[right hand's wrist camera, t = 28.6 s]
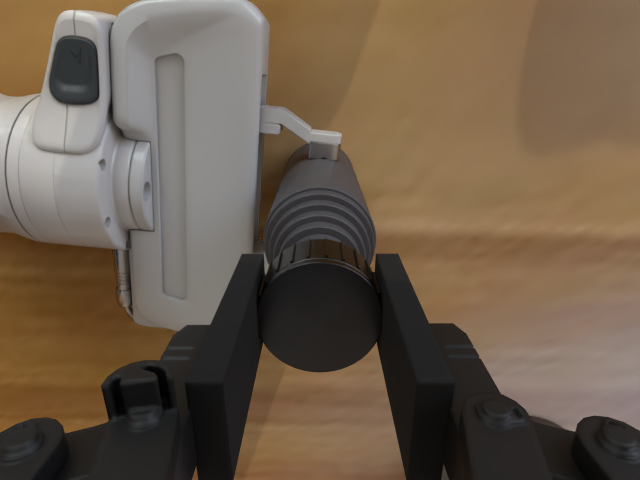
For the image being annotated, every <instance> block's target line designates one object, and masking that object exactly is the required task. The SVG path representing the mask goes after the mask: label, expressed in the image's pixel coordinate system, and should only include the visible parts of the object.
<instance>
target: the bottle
mask: <svg viewBox="0 0 640 480" xmlns="http://www.w3.org/2000/svg"><path fill="white" fill-rule="evenodd" d="M309 149H310V143H309V144H306V145H304V146H302V147H301V148H299V149H298V150H297V151H296V152H295V153H294V154H293V155H292V157H291V158H290V160H289V162H288V164H287V167H286V170H285V172H284V175H283V178H282V180H281V183H280V186H279V189H278V191H277V194H276V197H275V199H274V202H273V205H272V207H271V210H270V213H269V215H268V218H267V221H266V224H265V227H264V233H263V245H264V250H265V255H266V259H267V262H268V264H270V262H271V263H272V262H273V261H274V259H275V258H276V257H277V256H278V255H279V252H283V251H284V250H285V249H287V248H289V247H290V246H292V245H293V244H294V243H295V244H297V243H299V242H302V241H306V240H308V239H311V240H312V239H325V238H327V239H328V240H333V241H337V242H343V244H345V245H347V246H349V247H351V248H353V249H356V250H357V252H358V253H359V254H360V255H361V256H362V257H363V258H364V259H365V260H366V259H367V260H368V263H369V266H370V264H371V262H372V259H373V255H374V250H375V244H376V233H375V227H374V224H373V221H372V218H371V216H370V213H369V210H368V207H367V205H366V202H365V199H364V197H363V194H362V191H361V189H360V186H359V183H358V180H357V178H356V175H355V172H354V170H353V167H352V164H351V162H350V160H349V158H348V157H347V155H346V154H345V153H344V152H343V151H342V150H341V149H340V153H339V160H337V161H331V160H327V159H326V158H325V157H323V158H322V159H312V158H309Z"/></svg>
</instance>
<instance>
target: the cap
mask: <svg viewBox="0 0 640 480" xmlns="http://www.w3.org/2000/svg"><path fill="white" fill-rule="evenodd" d="M379 294H380V290H379V286H378V283H377V279H376V275H375V272H372V270H371V268H370V266H369V263H368V260H367V259H366V260H365V259H364V258H363V257H362V256H361V255H360V254H359V253H358V252H357V250H356V249H353V248H351V247H349V246H347V245H345V244H343V242H337V241H333V240H328V239H327V238H325V239H312V240H311V239H308V240H306V241H302V242H299V243H297V244H295V243H294V244H293V245H292V246H290V247H289V248H287V249H285V250H284V251H283V252H279V255H278V256H277V257H276V258H275V259H274V261H273V262H272V263H271V262H270V264H269V267H268V271H267V274H266V276H264V277H263V281H262V284H261V288H260V291H259V295H258V298H259V302H258V306H257V320H258V331H259V334H260V337H261V339H262V341H263V342H264V344H265V346H266V347H267V348H268V349H269V351H270V352H271V353H272V354H273V355H274V356H275V357H277V358H278V359H279V360H281V361H282V362H284V363H286V364H287V365H289V366H292V367H294V368H297V369H300V370H304V371H310V372H330V371H335V370H339V369H343V368H345V367H348V366H350V365H352V364H354V363H356V362H357V361H359V360H360V359H362V358H363V357H364V356H365V355H366V354H367V353H368V352H369V351H370V350H371V349H372V348H373V346H374V345H375V343H376V342H377V340H378V338H379V336H380V333H381V330H382V315H383V308H382V304H381V300H380V296H379Z"/></svg>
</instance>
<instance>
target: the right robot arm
mask: <svg viewBox="0 0 640 480" xmlns="http://www.w3.org/2000/svg"><path fill="white" fill-rule="evenodd" d="M375 275H376V279H377V283H378V286H379V290H380V294H379V296H380V300H381V304H382V308H383V315H382V330H381V333H380V336H379V338H378V340H377V346H378V350H379V355H380V360H381V364H382V369H383V374H384V378H385V383H386V388H387V392H388V397H389V401H390V406H391V411H392V415H393V420H394V425H395V429H396V434H397V439H398V443H399V448H400V453H401V457H402V462H403V466H404V471H405V476H406V480H640V431H639V430H637V429H635V428H633V427H632V426H630V425H628V424H626V423H624V422H621V421H618V420H615V419H612V418H609V417H602V416H591V417H586V418H583V419H582V420H581V421H580V422H579V423H578V424H577V428H576V431H575V432H573V431H569V430H565V429H563V428H562V427H560V426H559V425H557V424H555V423H553V422H551V421H548V420H545V419H542V418H538V417H533V416H529V415H528V413H527V412H526V410H525V409H524V408H523V407H522V406H520V405H519V404H518V403H517V402H516V401H514V400H512V399H510V398H508V397H506V396H504V395H501V393H500V392H499V390H498V388H497V386H496V385H495V383H494V381H493V379H492V378H491V376H490V374H489V373H488V371H487V369H486V367H485V366H484V364H483V362H482V360H481V359H479V355H478V353H477V352H476V350H475V349H474V348H473V345H472V343H471V341H470V339H469V338H468V336H467V334H466V333H464V332H463V331H462V330H461V329H459V328H458V327H457V326H456V325H454V324H429V323H428V320H427V318H426V316H425V314H424V311H423V309H422V307H421V305H420V302H419V300H418V298H417V296H416V293H415V291H414V289H413V287H412V284H411V282H410V280H409V278H408V275H407V273H406V271H405V269H404V267H403V264H402V262H401V260H400V258H399V255H398V254H376V262H375ZM264 276H265V267H264V254H242V255H241V257H240V259H239V261H238V264H237V266H236V268H235V270H234V273H233V275H232V277H231V279H230V282H229V284H228V286H227V288H226V291H225V293H224V295H223V297H222V300H221V302H220V304H219V306H218V308H217V311H216V313H215V315H214V317H213V320H212V322H211V324H210V325H186V326H185V327H183V328H182V329H181V330H180V331H178V332H177V333H176V334H175V335H173V337H172V339H171V341H170V342H169V344H168V346H167V349H166V350H165V351H164V353H163V355H162V356H161V360H159V361H157V360H144V361H139V362H135V363H131V364H128V365H126V366H124V367H122V368H119V369H117V370H116V371H115V372H113V373H112V374H111V375H109V376H108V377H107V378H106V380H105V381H104V383H103V384H102V385H101V388H102V392H103V396H104V400H105V405H106V409H107V413H108V418H109V421H108V422H107V423H104V424H101V425H98V426H95V427H91V428H86V429H82V430H78V431H74V432H70V433H66V434H65V432H64V429H63V426H62V425H61V424H60V423H59V422H58V421H57V420H55V419H51V418H36V419H30V420H27V421H24V422H21V423H18V424H16V425H14V426H12V427H10V428H8V429H6V430H5V431H3V432H1V433H0V480H192V477H193V474H194V471H195V468H196V466H197V473H198V480H233V479H234V474H235V470H236V465H237V461H238V456H239V451H240V447H241V442H242V437H243V433H244V428H245V423H246V419H247V414H248V409H249V405H250V400H251V396H252V391H253V386H254V382H255V377H256V372H257V368H258V363H259V358H260V354H261V349H262V345H263V341H262V339H261V337H260V334H259V331H258V320H257V306H258V302H259V298H258V295H259V291H260V288H261V284H262V281H263V277H264Z"/></svg>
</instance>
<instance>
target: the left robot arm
mask: <svg viewBox="0 0 640 480" xmlns="http://www.w3.org/2000/svg"><path fill="white" fill-rule="evenodd" d="M269 40H270V25H269V22H268V21H267V19H266V18H265V16H264V15H263V13H262V12H261V11H260V10H259V9H258V8H257V7H256V6H255V5H254V4H253V3H251V2H249V1H247V0H141V1H138V2H135V3H133V4H131V5H129V6H127V7H126V8H125V9H123V10H122V11H121V12H120V13H119V15H118V16H115V15H111V14H107V13H103V12H97V11H88V10H68V11H64V12H62V13H61V14H60V15H59V17H58V19H57V21H56V24H55V28H54V32H53V38H52V43H51V49H50V54H49V59H48V64H47V69H46V74H45V78H44V83H43V87H42V91H41V93H39V94H32V95H28V96H21V97H12V96H6V95H4V94H1V93H0V233H2V232H9V233H15V234H18V235H20V236H23V237H25V238H28V239H31V240H34V241H38V242H45V243H54V244H65V245H75V246H86V247H97V248H108V249H112V254H113V264H114V271H115V274H116V281H117V287H116V298H117V302H118V304H119V306H121V307H124V309H125V311H126V313H127V314H128V315H129V316H130V317H131V318H132V319H133V320H134V322H135V323H137V324H139V325H142V326H148V327H159V328H166V329H170V330H174V331H180V330H181V329H182V328H183V327H185V326H186V325H210V324H211V322H212V320H213V317H214V315H215V313H216V311H217V308H218V306H219V304H220V302H221V300H222V297H223V295H224V293H225V291H226V288H227V286H228V284H229V282H230V279H231V277H232V275H233V273H234V270H235V268H236V266H237V264H238V261H239V259H240V257H241V255H242V254H264V267H265V274H267V271H268V267H269V264H268V262H267V259H266V255H265V250H264V245H263V241H258V240H259V222H260V204H261V186H262V168H263V149H264V133H266V134H276V135H278V134H279V133H280V132H281V131H282V129H283V126H284V127H286V128H287V129H289V130H290V131H292V132H293V133H294V134H296V135H297V136H299V137H300V138H301V139H303V140H304V141H306V142H307V143H308V144H309V143H310V149H309V158H312V159H322V158H323V157H325V158H326V159H327V160H331V161H337V160H339V153H340V146H341V138H342V134H341V133H339V132H334V131H324V130H315V129H311V126H310V125H308V124H307V123H305V122H304V121H303V120H301V119H300V118H299V117H297V116H296V115H295V114H293V113H292V112H291V111H289V110H288V109H287V108H285V107H279V106H270V105H266V95H267V77H268V58H269ZM131 305H132V306H133V310H132V308H131Z"/></svg>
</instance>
